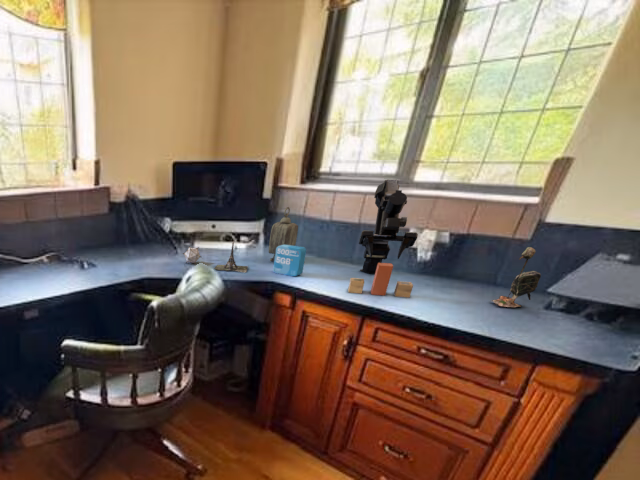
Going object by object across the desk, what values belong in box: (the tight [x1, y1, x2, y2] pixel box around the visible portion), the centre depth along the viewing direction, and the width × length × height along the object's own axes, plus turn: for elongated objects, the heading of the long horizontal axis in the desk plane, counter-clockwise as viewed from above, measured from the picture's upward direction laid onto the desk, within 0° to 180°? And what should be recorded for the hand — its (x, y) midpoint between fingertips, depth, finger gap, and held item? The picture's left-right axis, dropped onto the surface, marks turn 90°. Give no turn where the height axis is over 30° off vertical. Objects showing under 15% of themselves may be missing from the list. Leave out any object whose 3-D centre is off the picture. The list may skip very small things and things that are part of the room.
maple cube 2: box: [393, 280, 414, 299], centre depth 157 cm, size 5×5×5 cm
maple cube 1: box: [347, 277, 365, 294], centre depth 162 cm, size 5×5×5 cm
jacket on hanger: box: [268, 206, 299, 262], centre depth 206 cm, size 14×9×25 cm, turn 144°
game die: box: [182, 246, 202, 265], centre depth 209 cm, size 9×8×10 cm
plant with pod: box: [491, 246, 542, 308], centre depth 141 cm, size 8×11×20 cm
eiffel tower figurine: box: [213, 241, 249, 274], centre depth 196 cm, size 15×10×13 cm
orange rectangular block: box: [370, 262, 394, 297], centre depth 158 cm, size 5×5×11 cm
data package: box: [272, 244, 307, 277], centre depth 186 cm, size 12×4×12 cm, turn 42°
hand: (384, 257), depth 160 cm, fingers open, 9 cm apart
